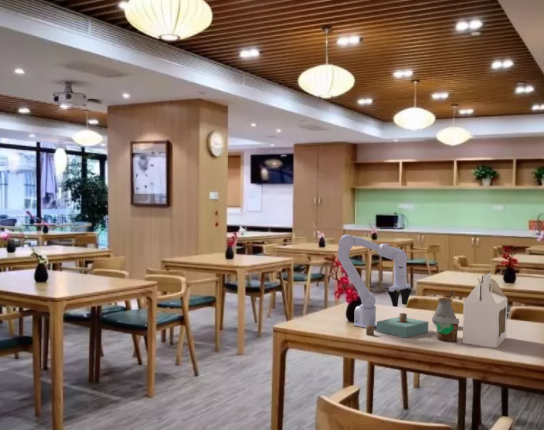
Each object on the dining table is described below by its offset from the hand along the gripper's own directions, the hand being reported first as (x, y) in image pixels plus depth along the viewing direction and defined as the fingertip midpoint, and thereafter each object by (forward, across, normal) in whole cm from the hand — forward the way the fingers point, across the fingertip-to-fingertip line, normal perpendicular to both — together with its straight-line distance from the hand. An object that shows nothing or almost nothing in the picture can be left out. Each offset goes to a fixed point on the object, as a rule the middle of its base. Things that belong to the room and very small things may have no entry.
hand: (399, 305), depth 264 cm
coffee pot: (+11, +24, -11) cm, 28 cm away
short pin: (+10, -22, 0) cm, 24 cm away
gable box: (+11, +7, -38) cm, 40 cm away
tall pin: (+10, -6, -6) cm, 13 cm away
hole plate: (+10, -6, -6) cm, 13 cm away
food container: (+11, -6, -26) cm, 29 cm away
